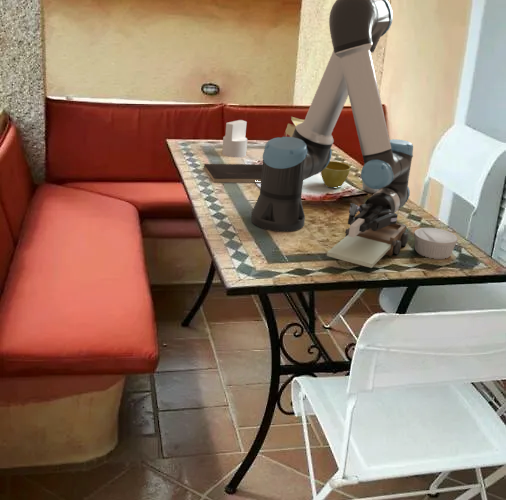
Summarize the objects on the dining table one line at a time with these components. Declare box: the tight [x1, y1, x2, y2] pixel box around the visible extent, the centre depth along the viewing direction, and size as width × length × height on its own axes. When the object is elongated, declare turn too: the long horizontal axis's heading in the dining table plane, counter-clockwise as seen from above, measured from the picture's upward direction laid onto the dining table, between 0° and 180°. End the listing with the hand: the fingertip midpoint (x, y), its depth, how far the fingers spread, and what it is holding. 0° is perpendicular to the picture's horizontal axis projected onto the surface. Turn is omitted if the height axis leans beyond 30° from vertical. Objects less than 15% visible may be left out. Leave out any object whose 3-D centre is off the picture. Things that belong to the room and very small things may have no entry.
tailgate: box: [326, 234, 391, 269], centre depth 178 cm, size 1×12×16 cm
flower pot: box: [320, 160, 352, 188], centre depth 235 cm, size 10×10×7 cm
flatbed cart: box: [344, 222, 409, 257], centre depth 190 cm, size 13×14×5 cm
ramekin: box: [413, 227, 458, 260], centre depth 188 cm, size 11×11×5 cm
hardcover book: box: [203, 163, 263, 183], centre depth 238 cm, size 16×23×2 cm
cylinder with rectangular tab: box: [221, 119, 248, 158], centre depth 260 cm, size 9×9×12 cm
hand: (352, 231), depth 167 cm, fingers closed
